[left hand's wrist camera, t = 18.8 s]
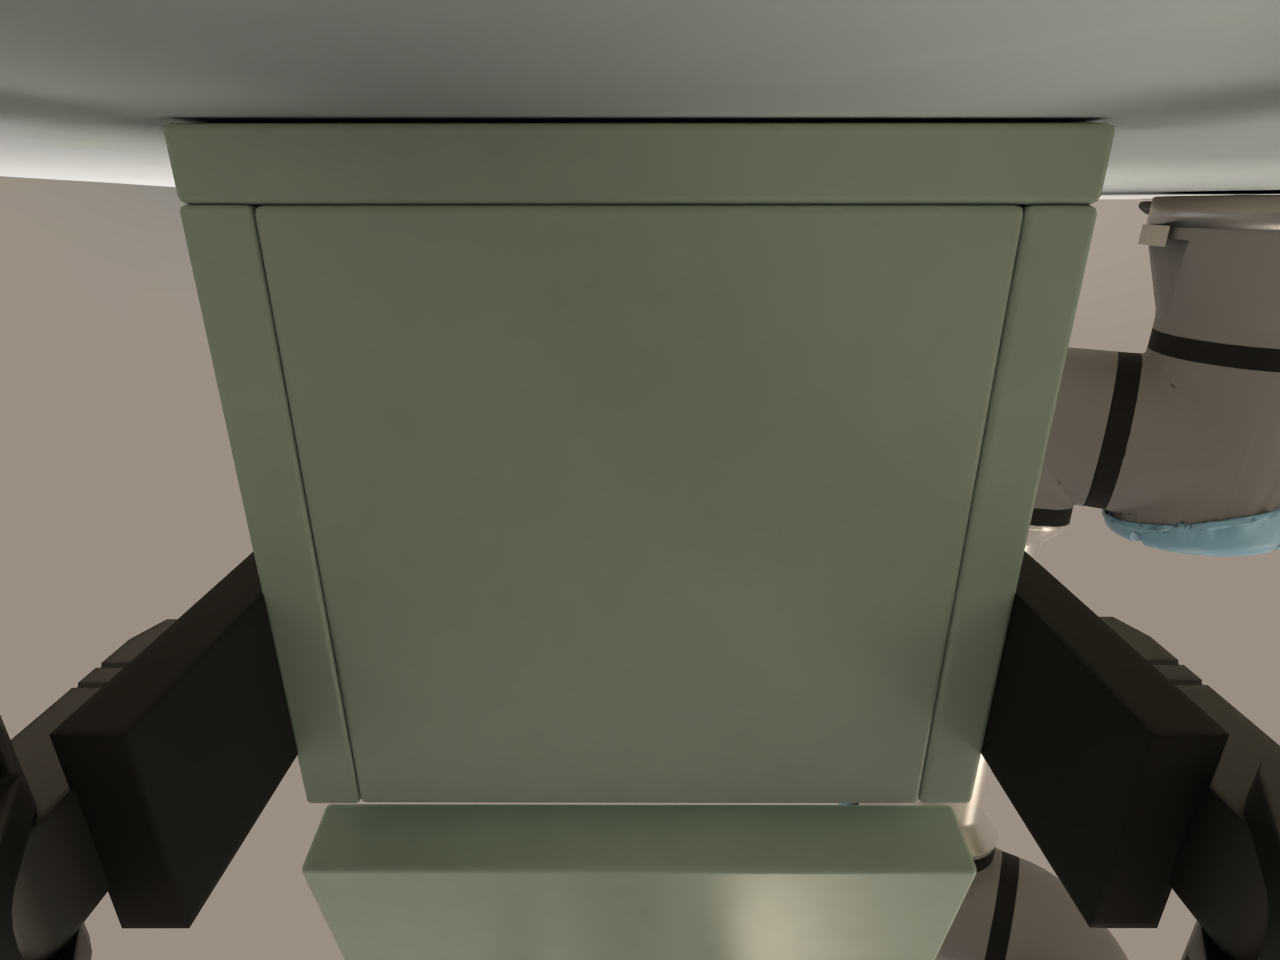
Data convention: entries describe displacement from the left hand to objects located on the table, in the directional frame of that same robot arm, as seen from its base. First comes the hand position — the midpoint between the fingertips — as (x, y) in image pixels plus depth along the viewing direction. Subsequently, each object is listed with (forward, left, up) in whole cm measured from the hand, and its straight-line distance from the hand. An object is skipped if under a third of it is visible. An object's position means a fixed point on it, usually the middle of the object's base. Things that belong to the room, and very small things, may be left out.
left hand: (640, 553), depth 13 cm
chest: (+3, +1, -7) cm, 8 cm away
